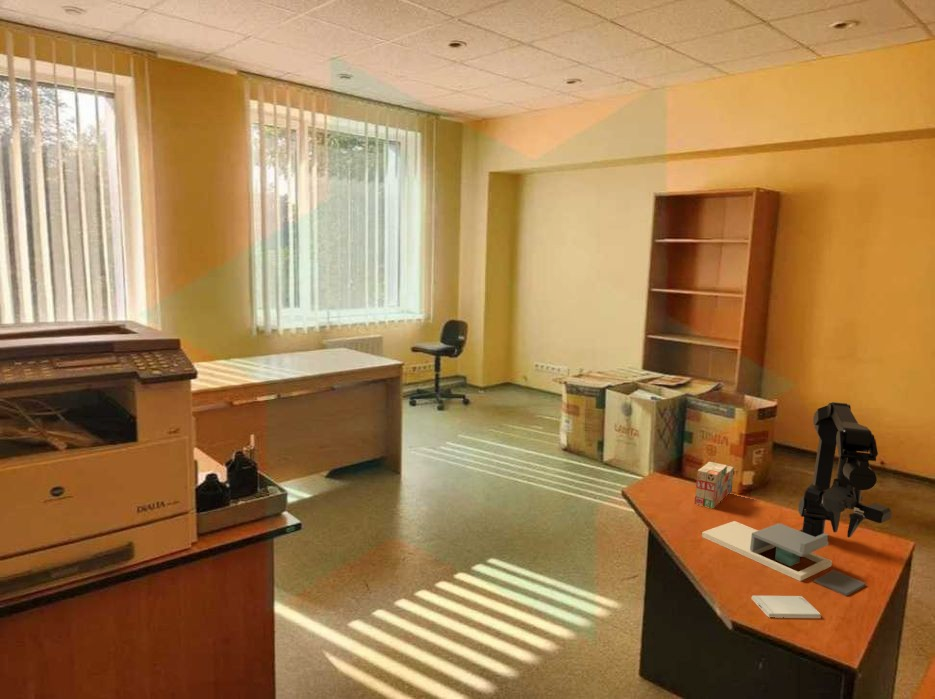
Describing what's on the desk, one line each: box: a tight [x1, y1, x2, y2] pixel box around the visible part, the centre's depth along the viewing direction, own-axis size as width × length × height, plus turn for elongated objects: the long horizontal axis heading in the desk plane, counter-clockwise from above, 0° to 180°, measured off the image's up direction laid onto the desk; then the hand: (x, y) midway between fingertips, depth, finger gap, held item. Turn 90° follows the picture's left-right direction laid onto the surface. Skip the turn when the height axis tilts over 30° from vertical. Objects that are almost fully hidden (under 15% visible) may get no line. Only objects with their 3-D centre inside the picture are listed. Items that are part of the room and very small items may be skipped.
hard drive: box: [750, 595, 822, 619], centre depth 150 cm, size 2×8×12 cm
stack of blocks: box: [694, 461, 735, 509], centre depth 218 cm, size 21×6×12 cm, turn 142°
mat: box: [813, 569, 867, 597], centre depth 163 cm, size 10×8×1 cm
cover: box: [750, 522, 830, 558], centre depth 173 cm, size 14×14×8 cm
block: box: [774, 546, 801, 567], centre depth 174 cm, size 4×4×5 cm
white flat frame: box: [701, 520, 833, 582], centre depth 179 cm, size 16×30×2 cm, turn 34°
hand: (842, 534), depth 162 cm, fingers open, 3 cm apart
